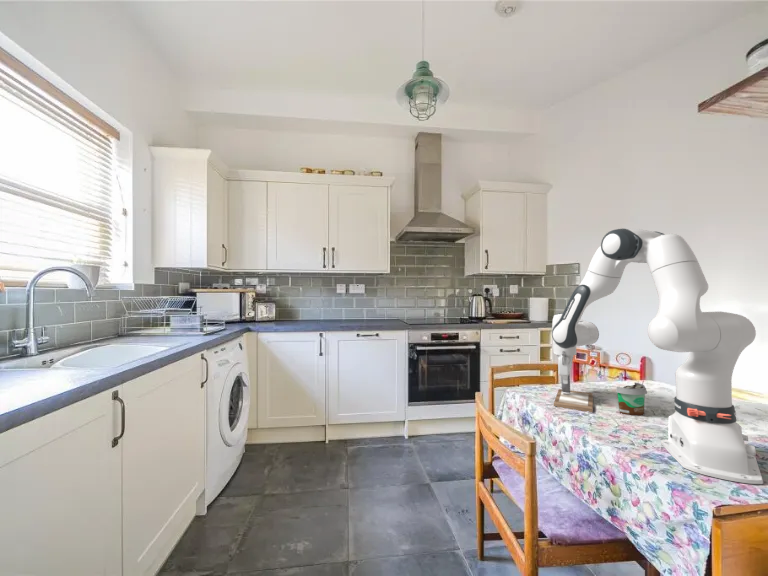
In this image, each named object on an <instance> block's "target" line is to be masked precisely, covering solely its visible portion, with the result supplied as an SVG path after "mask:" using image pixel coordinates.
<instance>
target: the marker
mask: <svg viewBox="0 0 768 576" xmlns="http://www.w3.org/2000/svg"><path fill="white" fill-rule="evenodd" d="M562 365H563V364H562ZM570 374H571V373H569V376H568V384H564V383H563V378H562V376H560V379H561V389H562V393H564V394H571V392H570V390H571V377H570Z"/></svg>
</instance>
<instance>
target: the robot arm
mask: <svg viewBox="0 0 768 576" xmlns="http://www.w3.org/2000/svg"><path fill="white" fill-rule="evenodd" d="M630 263H638V264H640V263H642V264H643V263H644V264H645V263H646V265H647V267H648V269H649V271H650V272H649V273H650V274H651V277H652V281H653V283H654V286H655V289H656V292H657V295H658V309H657V312H656V314H655V316H654V317H653V318H652V319H651V320H650V321H649V324H648V326H647V335H648V338H649V340H650V341H651V343H652V345H654V346H655V347H657V348H658V349H660V350H663V351H668V352H673V353H675V352H676V353H689V354H688V356H687V359H686V360H685V361H684V362H683V363H682V364H680V365H679V366H678V367H677V368H676V370H675V373H674V375H675V395H676V396H674V400H673V401H674V402H673V405H674V410H675V411H674V413H672V414H671V415H669V416H668V439H661V441H660V442H661V443H660V444H661V446H662V447H663V448H664V449H665V450H667V452H668V453H669V454H670V455H671V456H672V457H673V458H674V459H675V460H676V461H677V463H679V464H680V466H681V467H683V468H684V469H686V470H688V471H691V472H694V473H697V474H701V475H705V476H709V477H712V478H716V479H722V480H726V481H730V482H731V481H732V482H736V483H743V484H749V485H763V484H764V480H763V476H762V473H761V470H760V467H759V464H758V461H757V458H756V449H755V448H756V447H755V446H754V445H749V444H745V442H749V436H748V435H745V434H743V430H742V428H743V427H742V425H740V424H739V423H737V420H738V418H737V412H736V411H737V410H736V409H735V405H734V404H733V397H732V396H733V395H732V382H733V381H732V378H733V374H734V373H733V372H734V369H735V366H736V364H737V361H738V360H739V357H740V356H741V354H742V353H743V351H744V350H745V349H746V348H747V347H748V346H750V345H751V344H752V343H753V342H754V341H755V339H756V335H757V333H756V332H757V331H756V327H755V324H754V323H753V322H752V321H751V320H750V319H749V318H747V317H746V316H744V315H742V314H738V313H732V312H727V311H702V309H701V305H700V303H701V298H702V297H703V296H704V295H705V294H706V293H707V292H708V290H709V284H708V281H707V279H706V276H705V273H704V271H703V270H702V267H701V265H700V263H699V260H698V258H697V256H696V254H695V253H694V251H693V249H692V248H691V246H690V244H688V242H687V241H686V240H685V238H683V236H681V235H679V234H677V233H676V234H674V233H666V234H665V233H664V232H660V231H653V230H645V229H642V228H616V229H613V230H610V231H607V232H606V234H605V235H604V236H603V237H602V239H601V242H600V246H599V247H598V248H597V249H596V251H595V252H594V254H593V256H592V257H591V260H590V262H589V265H588V266H587V270H586V272H585V275H584V277H583V278H582V280H581V282H580V283H579V285H578V286H577V287H576V288H575V289H574V290H573V292H572V293H571V296H570V297H569V299H568V302H567V305H565V308H564V310H563V312H559V313H555V314H554V315H553V318H552V323H551V325H552V326H551V329H552V330H551V336H552V353H553V354H554V355H556V358H557V359H558V360H557V361H558V363H557V365H558V366H557V367H558V368H557V370H558V376H560V377H561V376H562V378H563V383H564V384H568V376H569V373H570V372H571V369H572V365H573V359H574V356H576V355H577V354H578V353H577V347H582V346H589V345H592V344H593V345H594V344H596V342H598V340H599V336H600V331H599V329H598V327H597V326H596V325H595V323H593V322H591V321H587V320H584V319H582V317H583V314H584V313H585V310H586V309H587V307H588V306H589V305H591V304H592V303H594V302H596V301H598V300H601V299H602V298H605V297H607V296H609V295H611V294H612V293H614V292H615V290H616V289H617V288H618V287H619V284H620V282H621V280H622V276H623V273H624V271H625V269H626V267H627V265H628V264H630ZM562 364H563V365H562ZM570 374H571V373H570Z"/></svg>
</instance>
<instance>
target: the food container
mask: <svg viewBox="0 0 768 576" xmlns="http://www.w3.org/2000/svg"><path fill="white" fill-rule="evenodd" d="M615 392H616V393H617V401H618V411H619V414H621V413H622V414H621V415H626V416H631V417H632V416H633V417H640V416H641V415H642V416H644V415H643V414H645V398H646V394H647V393H648V390H647V388H646V386H645V385H644V384H642V383H639V382H634V384H632V385H625V386H624V387H621V386H616V389H615Z"/></svg>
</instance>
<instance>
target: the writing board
mask: <svg viewBox="0 0 768 576" xmlns="http://www.w3.org/2000/svg"><path fill="white" fill-rule="evenodd" d="M570 392H571V394H564V393H562V388H559V389H558V390H557V392H556V393H557V394H556V396H555V399H554V402H553V407H554V406H557V407H556V408H560V407H563V408H562V409H566V408H570V409H569V410H573V409H576V410H575V411H580V410H581V411H582V412H587V411H589V412H588V413H593V410H594V408H593V407H594V393H593V392H588V391H586V392H585V391H578V390H571V389H570Z"/></svg>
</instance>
